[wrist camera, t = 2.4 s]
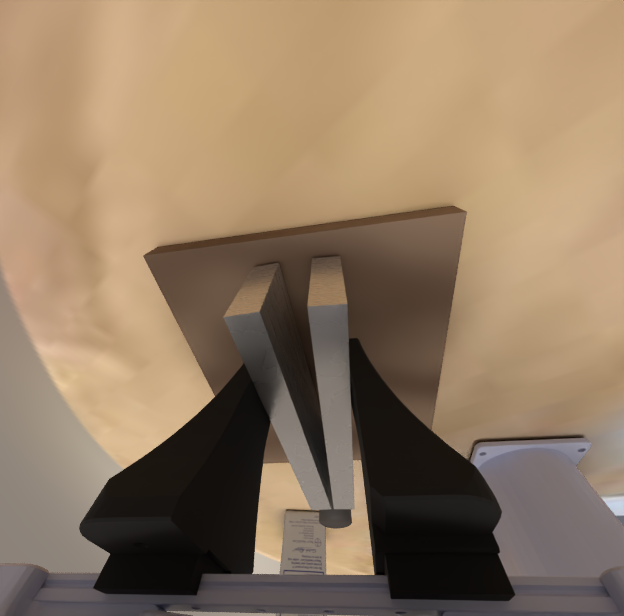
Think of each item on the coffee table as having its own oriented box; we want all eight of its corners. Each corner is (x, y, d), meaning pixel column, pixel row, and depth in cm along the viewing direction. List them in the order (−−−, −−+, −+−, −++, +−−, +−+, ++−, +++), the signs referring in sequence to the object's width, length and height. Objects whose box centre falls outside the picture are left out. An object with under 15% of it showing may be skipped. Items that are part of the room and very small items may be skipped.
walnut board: (421, 441, 20) (451, 530, 16) (253, 449, 22) (233, 532, 17) (453, 205, 11) (550, 248, 6) (157, 247, 13) (58, 305, 8)
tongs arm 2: (348, 442, 18) (354, 509, 15) (332, 442, 18) (333, 509, 15) (339, 255, 11) (347, 303, 8) (312, 258, 11) (307, 306, 8)
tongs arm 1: (329, 442, 18) (331, 509, 15) (313, 444, 19) (311, 509, 15) (278, 262, 11) (259, 311, 8) (252, 267, 11) (223, 317, 8)
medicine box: (285, 508, 28) (272, 635, 21) (326, 510, 28) (327, 639, 21) (287, 535, 32) (276, 649, 25) (322, 537, 32) (322, 652, 25)
